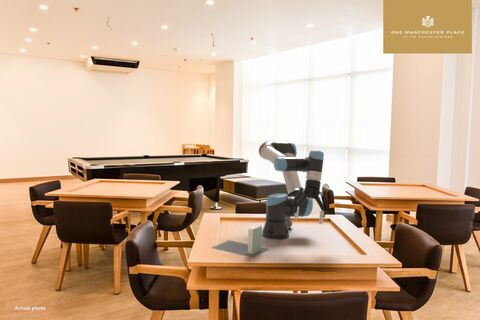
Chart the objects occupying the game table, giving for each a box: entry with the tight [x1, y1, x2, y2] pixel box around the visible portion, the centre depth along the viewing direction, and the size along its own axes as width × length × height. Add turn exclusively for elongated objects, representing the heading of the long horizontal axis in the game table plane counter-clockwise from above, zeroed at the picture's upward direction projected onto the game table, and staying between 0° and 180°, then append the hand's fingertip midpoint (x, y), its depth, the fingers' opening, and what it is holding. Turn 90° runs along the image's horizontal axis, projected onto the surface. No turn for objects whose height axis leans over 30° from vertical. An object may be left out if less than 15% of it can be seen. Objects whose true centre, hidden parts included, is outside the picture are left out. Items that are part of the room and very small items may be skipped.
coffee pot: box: [258, 202, 293, 230], centre depth 228 cm, size 21×12×15 cm, turn 87°
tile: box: [247, 224, 263, 254], centre depth 179 cm, size 3×8×12 cm, turn 148°
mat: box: [211, 240, 270, 259], centre depth 184 cm, size 24×16×1 cm, turn 58°
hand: (308, 221), depth 187 cm, fingers open, 13 cm apart
